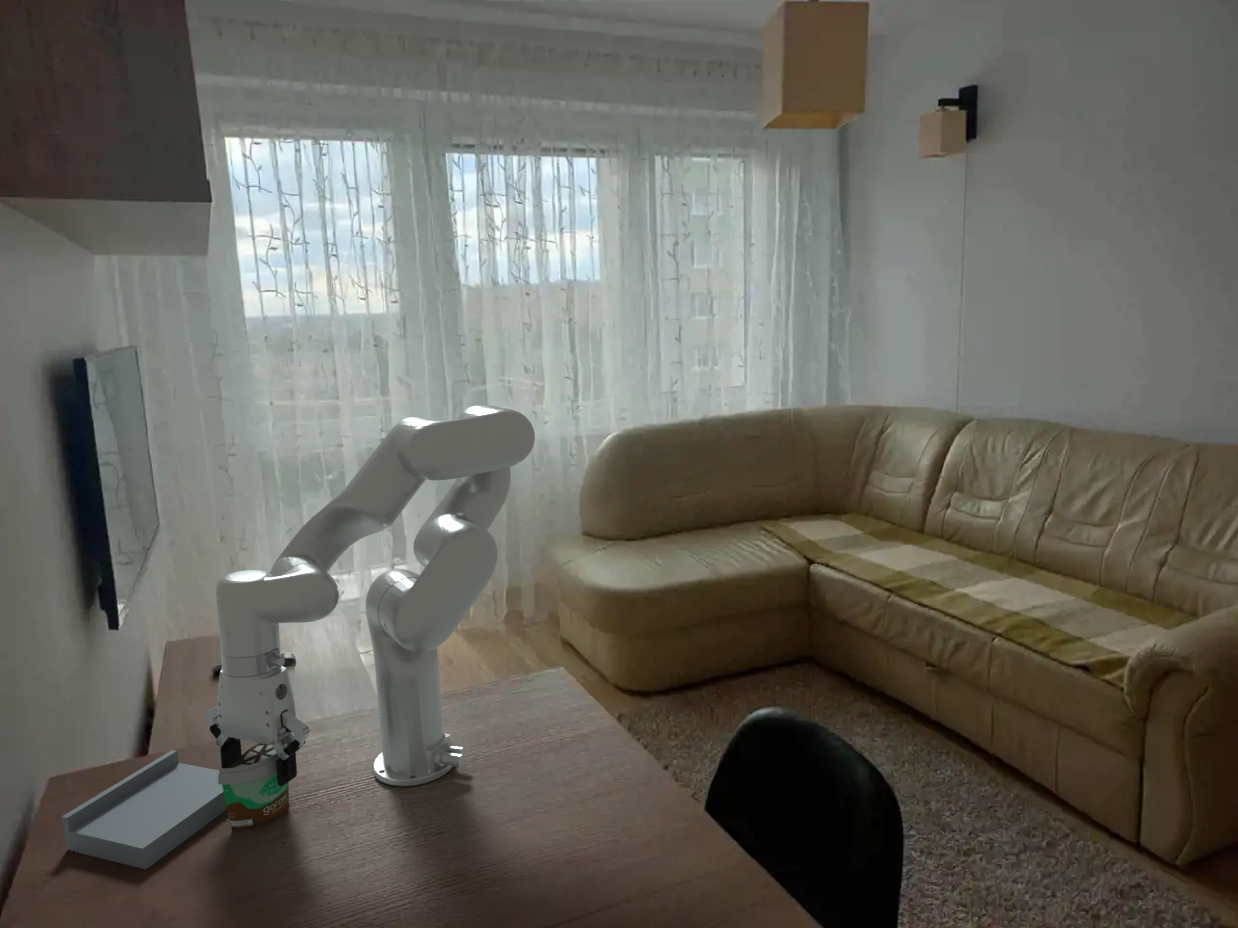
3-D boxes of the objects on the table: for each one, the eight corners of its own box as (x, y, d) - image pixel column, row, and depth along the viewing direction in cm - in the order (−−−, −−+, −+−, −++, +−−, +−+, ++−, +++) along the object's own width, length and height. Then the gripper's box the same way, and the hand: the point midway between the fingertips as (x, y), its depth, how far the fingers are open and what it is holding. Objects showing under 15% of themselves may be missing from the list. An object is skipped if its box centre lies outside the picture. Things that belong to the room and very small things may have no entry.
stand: (248, 793, 125) (244, 763, 124) (145, 869, 108) (140, 834, 108) (176, 779, 130) (172, 749, 129) (67, 849, 113) (61, 816, 112)
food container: (264, 841, 114) (256, 774, 112) (224, 837, 115) (216, 770, 113) (314, 790, 125) (308, 729, 124) (278, 787, 127) (271, 726, 125)
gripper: (321, 658, 116) (327, 772, 119) (223, 643, 122) (231, 752, 125) (283, 679, 109) (291, 799, 112) (181, 662, 115) (190, 777, 118)
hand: (259, 774), depth 118 cm, fingers open, 9 cm apart
